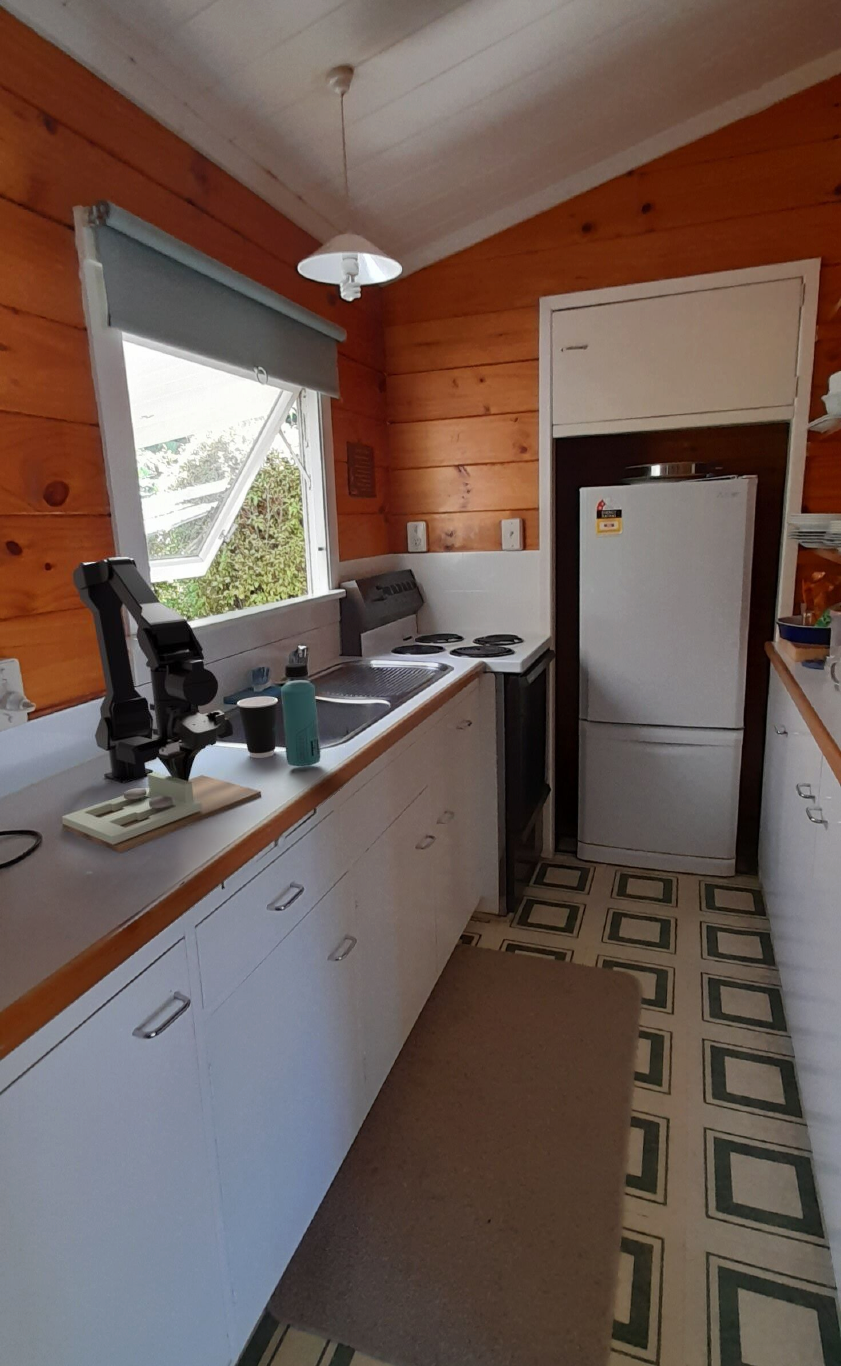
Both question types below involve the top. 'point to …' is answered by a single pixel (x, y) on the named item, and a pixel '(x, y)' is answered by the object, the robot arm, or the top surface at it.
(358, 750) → the top surface
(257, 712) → the dixie cup
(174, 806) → the sage panel
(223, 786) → the walnut board
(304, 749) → the beverage bottle
